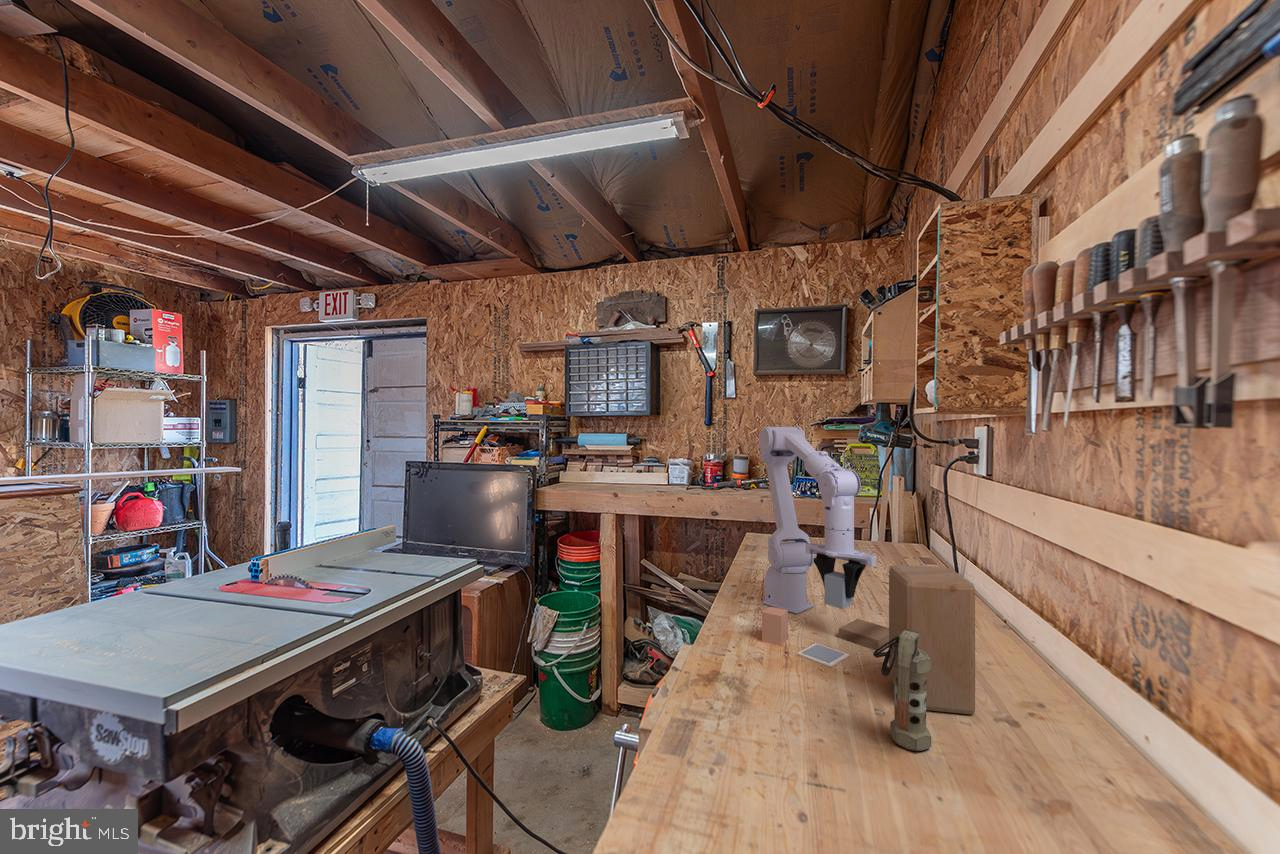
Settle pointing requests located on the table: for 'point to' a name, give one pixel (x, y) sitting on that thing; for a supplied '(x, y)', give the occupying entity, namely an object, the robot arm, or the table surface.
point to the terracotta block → (775, 626)
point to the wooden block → (937, 630)
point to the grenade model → (908, 690)
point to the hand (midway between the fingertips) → (839, 594)
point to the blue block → (836, 590)
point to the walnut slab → (865, 634)
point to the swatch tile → (823, 655)
